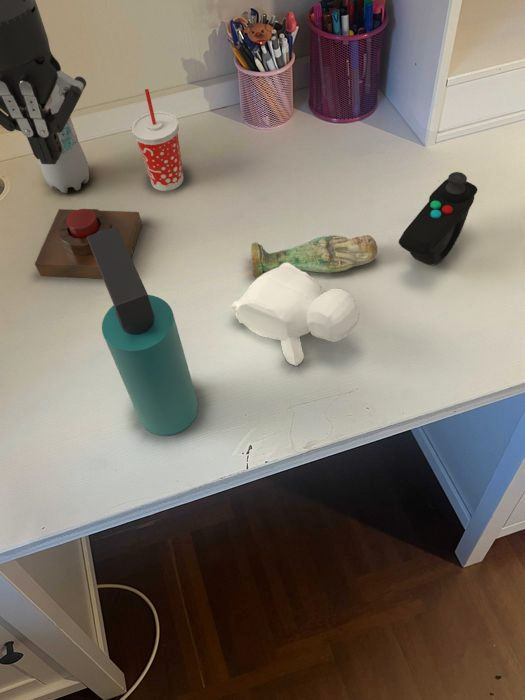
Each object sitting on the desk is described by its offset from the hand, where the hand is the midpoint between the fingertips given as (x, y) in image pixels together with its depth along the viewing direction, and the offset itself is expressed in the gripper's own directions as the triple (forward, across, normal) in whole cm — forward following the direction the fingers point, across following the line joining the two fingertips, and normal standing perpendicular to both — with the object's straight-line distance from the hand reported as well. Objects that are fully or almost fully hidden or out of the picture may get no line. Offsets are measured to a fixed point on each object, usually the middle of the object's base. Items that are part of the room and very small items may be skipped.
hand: (51, 159), depth 73 cm
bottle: (+15, -6, +14) cm, 21 cm away
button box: (+15, 0, +1) cm, 15 cm away
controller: (+14, +44, +2) cm, 46 cm away
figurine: (+15, +29, 0) cm, 33 cm away
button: (+11, 0, +1) cm, 11 cm away
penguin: (+15, +28, -11) cm, 34 cm away
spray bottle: (+15, +14, -20) cm, 29 cm away
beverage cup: (+15, +8, +15) cm, 22 cm away
